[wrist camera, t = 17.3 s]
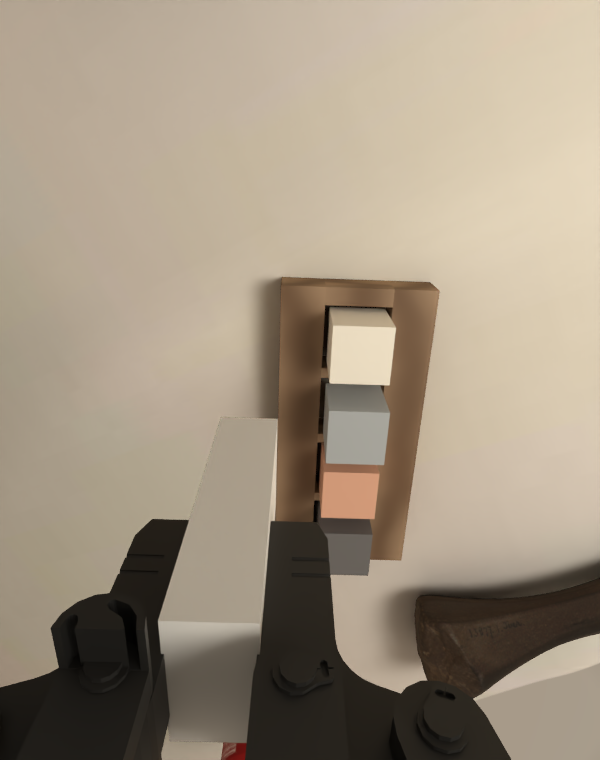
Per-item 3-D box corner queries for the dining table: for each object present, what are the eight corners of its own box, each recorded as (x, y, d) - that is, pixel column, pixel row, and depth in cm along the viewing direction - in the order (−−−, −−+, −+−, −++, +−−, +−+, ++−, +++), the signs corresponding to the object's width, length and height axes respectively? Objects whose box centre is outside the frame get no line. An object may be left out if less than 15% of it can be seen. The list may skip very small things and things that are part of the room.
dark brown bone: (403, 617, 59) (635, 535, 58) (442, 723, 52) (704, 630, 52) (395, 590, 51) (665, 494, 50) (440, 712, 44) (753, 602, 43)
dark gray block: (315, 535, 49) (317, 574, 44) (317, 497, 47) (320, 533, 43) (361, 536, 49) (368, 575, 45) (365, 498, 47) (372, 534, 43)
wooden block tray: (276, 535, 52) (275, 556, 49) (282, 277, 41) (281, 285, 39) (395, 539, 52) (401, 560, 49) (430, 282, 42) (439, 291, 39)
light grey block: (323, 431, 43) (325, 463, 39) (325, 383, 42) (329, 410, 37) (375, 432, 43) (384, 465, 39) (380, 385, 42) (390, 412, 37)
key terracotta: (318, 482, 47) (320, 517, 42) (321, 440, 45) (323, 472, 40) (367, 484, 47) (374, 519, 42) (371, 442, 45) (379, 473, 41)
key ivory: (326, 359, 42) (329, 383, 37) (329, 306, 40) (333, 325, 36) (379, 361, 42) (389, 385, 38) (385, 308, 40) (395, 327, 36)
